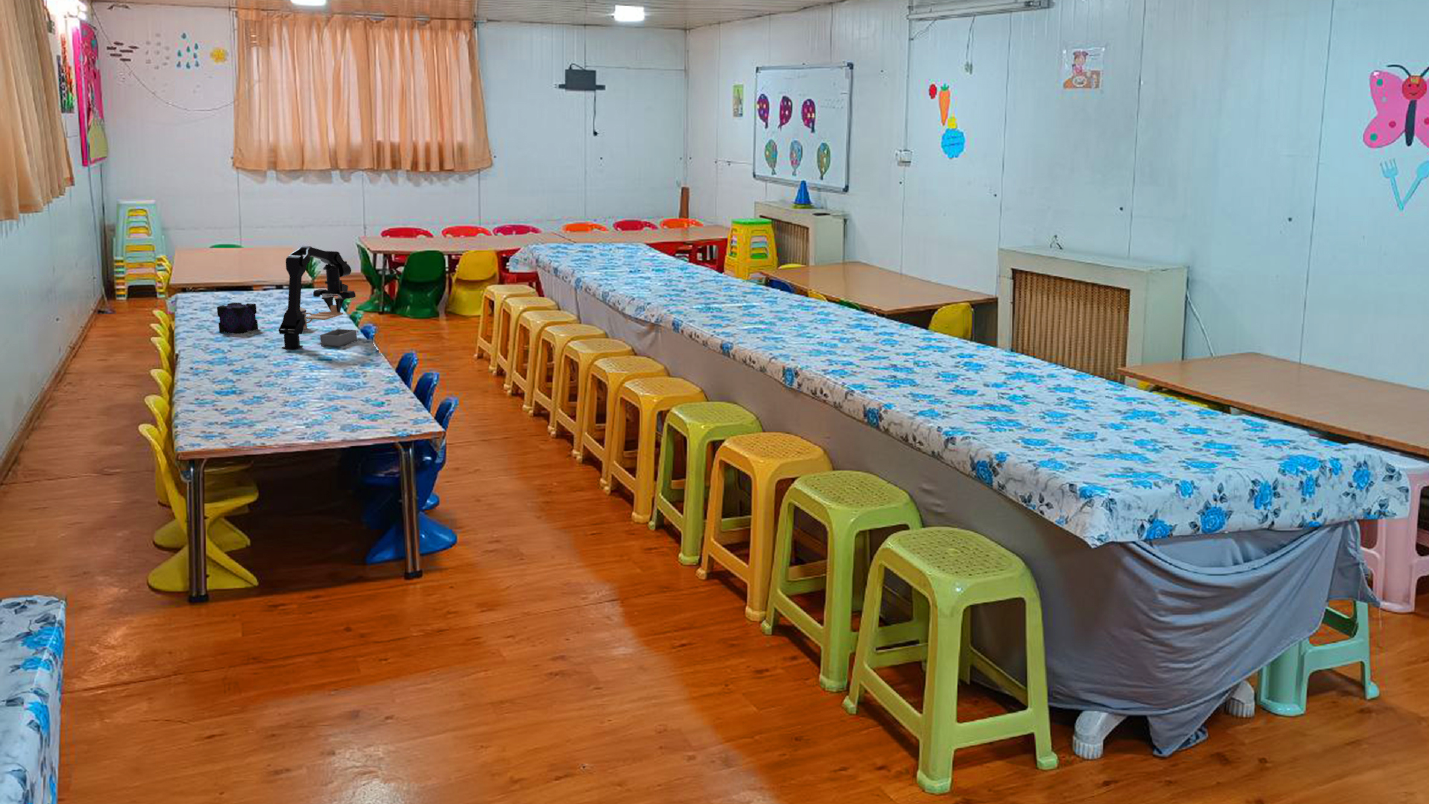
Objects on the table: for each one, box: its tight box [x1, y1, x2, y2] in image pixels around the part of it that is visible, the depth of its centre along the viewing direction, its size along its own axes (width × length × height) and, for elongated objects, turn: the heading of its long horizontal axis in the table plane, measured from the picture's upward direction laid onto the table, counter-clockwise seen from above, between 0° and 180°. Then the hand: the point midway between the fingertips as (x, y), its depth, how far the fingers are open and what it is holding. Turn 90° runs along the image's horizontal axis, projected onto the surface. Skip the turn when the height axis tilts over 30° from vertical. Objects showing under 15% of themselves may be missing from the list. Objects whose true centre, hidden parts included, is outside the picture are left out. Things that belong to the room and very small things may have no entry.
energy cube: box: [216, 302, 259, 335], centre depth 532 cm, size 12×12×12 cm
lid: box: [306, 304, 344, 321], centre depth 519 cm, size 17×10×4 cm, turn 165°
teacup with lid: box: [285, 306, 314, 331], centre depth 538 cm, size 12×9×12 cm
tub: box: [319, 328, 358, 348], centre depth 508 cm, size 14×9×5 cm, turn 165°
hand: (335, 312), depth 526 cm, fingers closed on lid, 3 cm apart
